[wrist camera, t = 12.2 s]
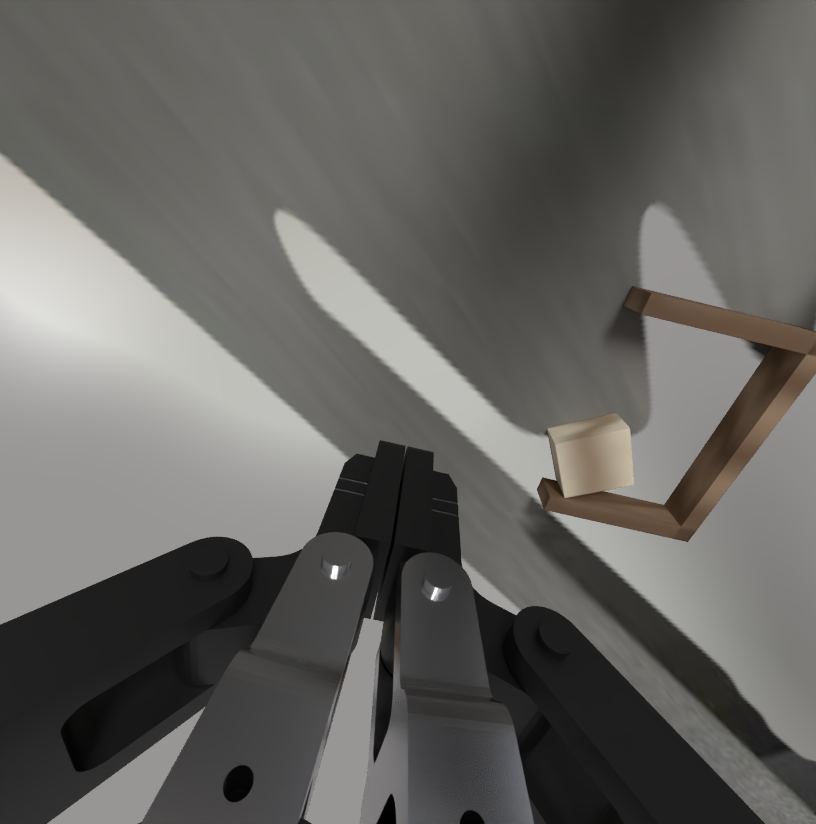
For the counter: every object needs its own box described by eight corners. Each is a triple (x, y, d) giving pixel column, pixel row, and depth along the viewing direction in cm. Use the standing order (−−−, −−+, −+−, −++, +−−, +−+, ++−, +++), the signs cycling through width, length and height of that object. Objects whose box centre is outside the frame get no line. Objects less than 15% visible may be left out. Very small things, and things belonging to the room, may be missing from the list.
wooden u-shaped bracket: (632, 286, 29) (651, 292, 27) (805, 328, 30) (841, 339, 27) (536, 489, 39) (544, 509, 36) (670, 519, 39) (687, 541, 36)
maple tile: (615, 411, 35) (629, 428, 32) (620, 465, 37) (634, 484, 34) (546, 427, 36) (555, 444, 33) (555, 478, 38) (564, 498, 36)
